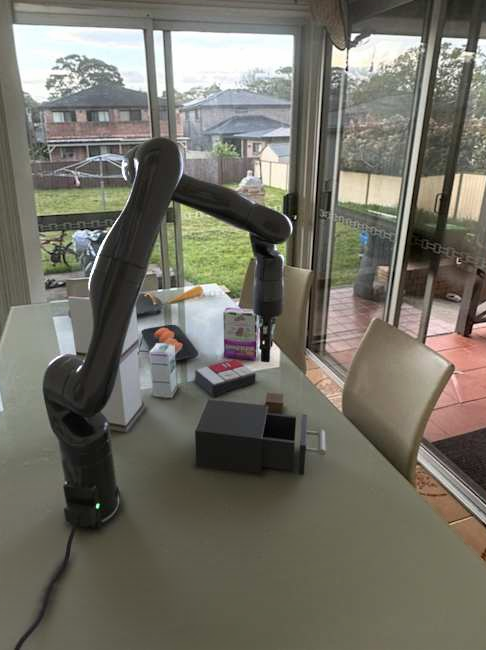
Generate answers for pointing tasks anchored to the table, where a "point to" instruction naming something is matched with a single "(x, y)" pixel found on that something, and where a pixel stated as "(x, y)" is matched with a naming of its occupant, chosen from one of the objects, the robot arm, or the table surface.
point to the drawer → (287, 442)
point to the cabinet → (231, 436)
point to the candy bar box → (241, 333)
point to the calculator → (224, 377)
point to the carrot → (189, 294)
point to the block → (275, 403)
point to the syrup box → (163, 370)
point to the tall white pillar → (127, 386)
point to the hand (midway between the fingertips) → (266, 353)
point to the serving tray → (146, 304)
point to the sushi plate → (169, 340)
